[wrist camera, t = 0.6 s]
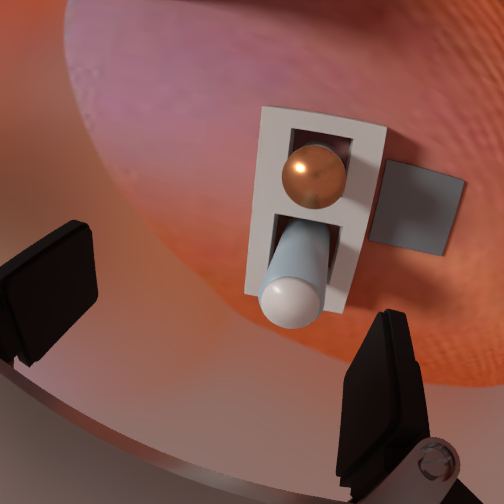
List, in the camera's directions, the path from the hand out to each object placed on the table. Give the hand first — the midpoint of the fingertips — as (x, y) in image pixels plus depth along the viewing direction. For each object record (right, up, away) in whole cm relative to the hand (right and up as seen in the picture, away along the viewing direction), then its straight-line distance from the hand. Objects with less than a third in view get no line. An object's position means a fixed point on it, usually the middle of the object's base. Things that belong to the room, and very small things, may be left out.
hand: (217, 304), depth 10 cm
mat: (+16, +6, +18) cm, 25 cm away
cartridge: (+6, +3, +22) cm, 23 cm away
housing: (+7, +6, +21) cm, 22 cm away
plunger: (+6, +9, +16) cm, 19 cm away
